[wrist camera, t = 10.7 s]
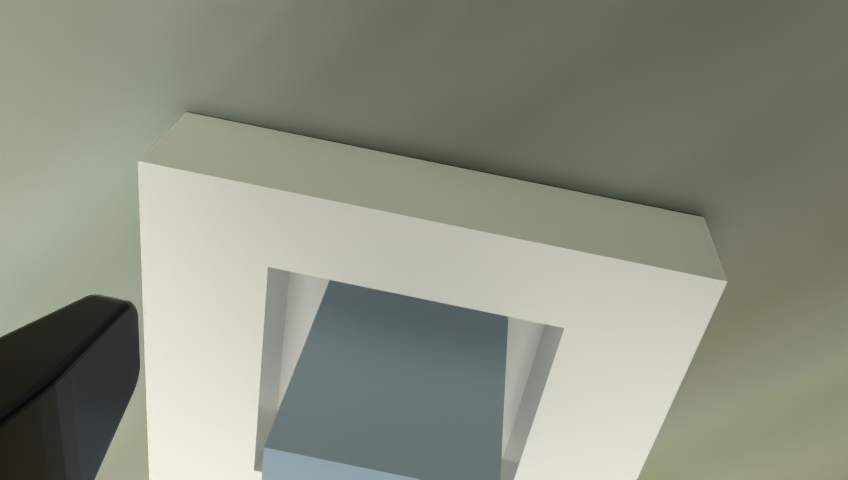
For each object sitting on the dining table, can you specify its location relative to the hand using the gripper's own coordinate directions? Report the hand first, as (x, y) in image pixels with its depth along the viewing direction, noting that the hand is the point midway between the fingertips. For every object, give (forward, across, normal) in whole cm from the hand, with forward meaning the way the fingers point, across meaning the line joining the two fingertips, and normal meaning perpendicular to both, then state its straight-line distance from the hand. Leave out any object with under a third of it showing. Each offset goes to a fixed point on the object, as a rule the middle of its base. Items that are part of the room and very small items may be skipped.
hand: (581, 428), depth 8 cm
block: (+12, +2, +10) cm, 16 cm away
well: (+13, +2, +10) cm, 17 cm away
